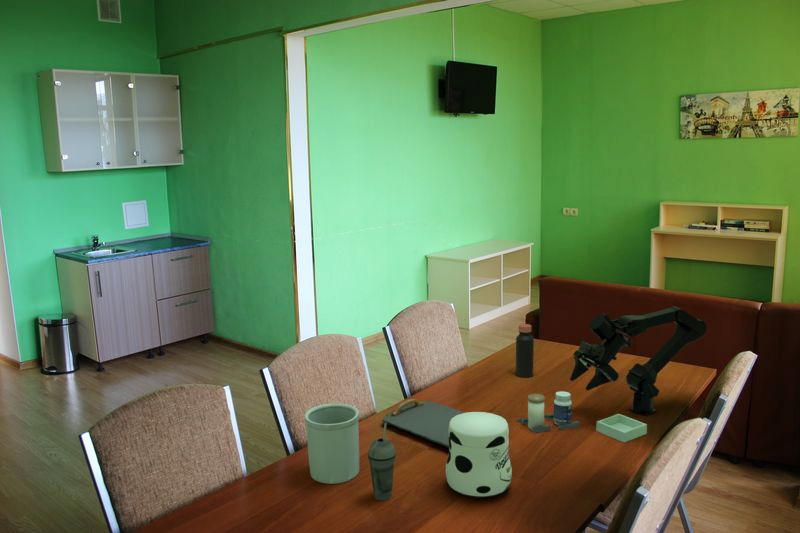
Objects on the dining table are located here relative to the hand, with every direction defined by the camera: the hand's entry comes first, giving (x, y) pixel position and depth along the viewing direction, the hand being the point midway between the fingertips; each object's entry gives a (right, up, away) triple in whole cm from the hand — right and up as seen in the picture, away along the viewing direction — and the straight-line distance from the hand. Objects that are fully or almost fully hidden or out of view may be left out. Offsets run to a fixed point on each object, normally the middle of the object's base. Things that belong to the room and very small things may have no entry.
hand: (578, 384), depth 219 cm
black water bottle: (-9, -5, +47) cm, 48 cm away
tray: (+11, -13, -8) cm, 19 cm away
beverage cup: (-62, -22, -43) cm, 78 cm away
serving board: (-44, -15, -3) cm, 47 cm away
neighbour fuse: (-14, -13, -2) cm, 19 cm away
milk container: (-37, -20, -39) cm, 58 cm away
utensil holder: (-76, -20, -29) cm, 84 cm away
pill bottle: (-5, -13, +1) cm, 14 cm away
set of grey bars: (-10, -12, 0) cm, 16 cm away
